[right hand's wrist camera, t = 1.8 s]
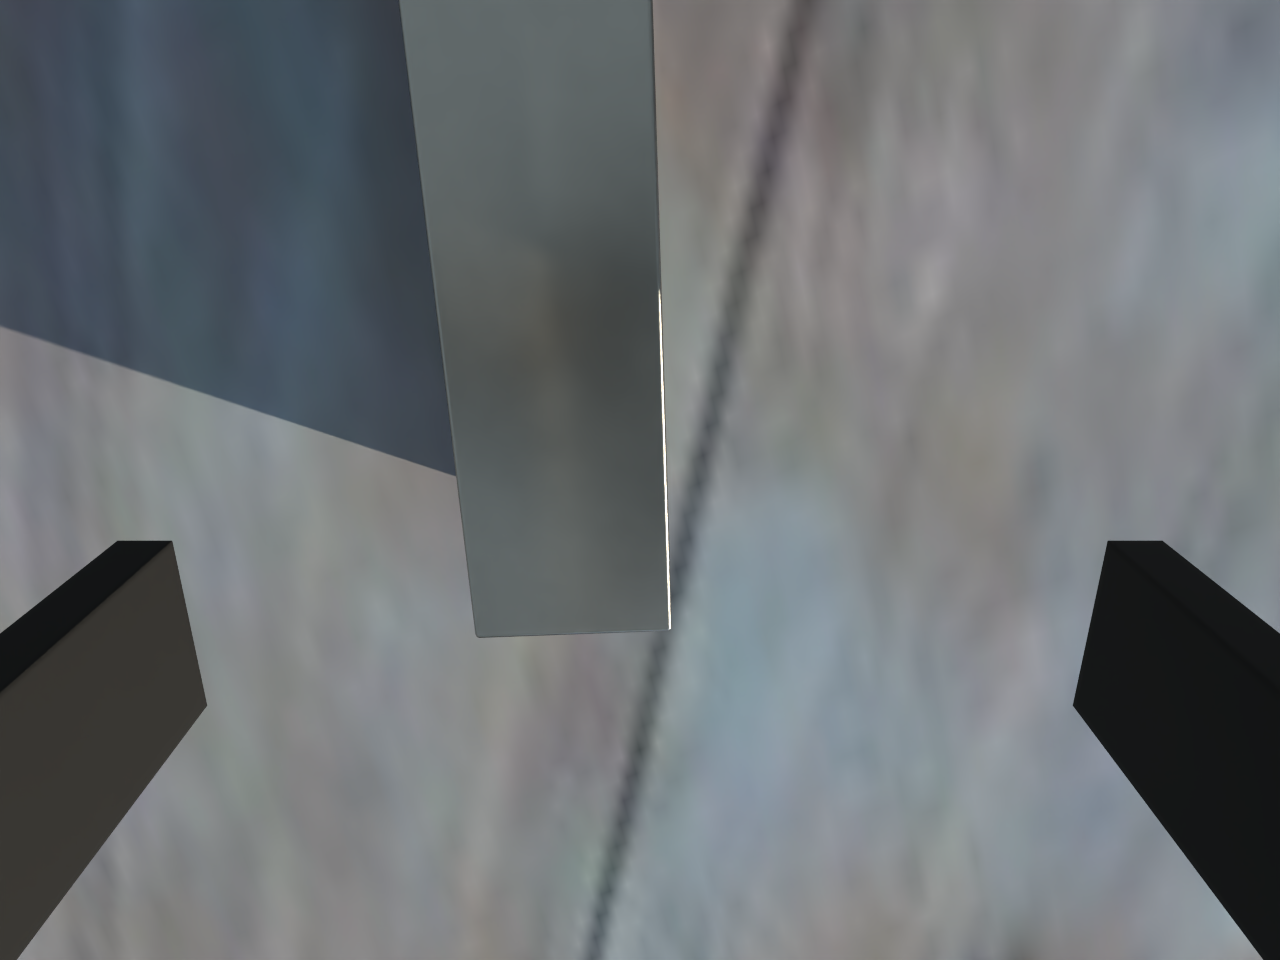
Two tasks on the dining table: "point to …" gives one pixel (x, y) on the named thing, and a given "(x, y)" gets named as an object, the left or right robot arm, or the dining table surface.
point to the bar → (548, 303)
